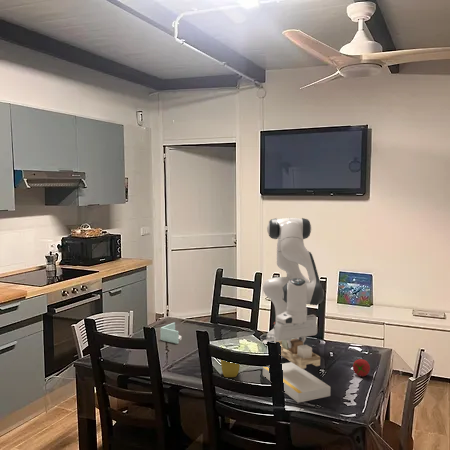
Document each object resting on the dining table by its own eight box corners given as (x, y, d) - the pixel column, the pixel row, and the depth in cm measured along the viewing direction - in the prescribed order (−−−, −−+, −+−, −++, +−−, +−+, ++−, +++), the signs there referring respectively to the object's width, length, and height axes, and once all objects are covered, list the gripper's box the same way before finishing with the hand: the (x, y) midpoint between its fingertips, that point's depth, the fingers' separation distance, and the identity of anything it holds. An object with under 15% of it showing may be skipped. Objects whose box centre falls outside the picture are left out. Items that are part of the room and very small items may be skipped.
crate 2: (297, 355, 212) (297, 345, 211) (306, 354, 213) (306, 344, 213) (303, 359, 208) (303, 349, 207) (311, 357, 209) (312, 347, 209)
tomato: (363, 354, 233) (358, 356, 226) (375, 367, 229) (371, 369, 223) (351, 365, 235) (346, 367, 228) (363, 378, 232) (359, 381, 225)
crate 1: (281, 346, 223) (281, 336, 223) (290, 345, 225) (290, 335, 225) (286, 349, 219) (286, 339, 219) (295, 348, 221) (295, 338, 221)
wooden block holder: (273, 350, 226) (273, 333, 225) (289, 347, 230) (290, 331, 229) (302, 368, 204) (302, 350, 204) (320, 365, 208) (320, 347, 207)
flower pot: (219, 371, 232) (219, 353, 231) (238, 371, 233) (238, 352, 232) (220, 379, 224) (221, 360, 223) (240, 379, 224) (240, 359, 223)
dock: (262, 375, 229) (262, 366, 228) (292, 370, 235) (292, 361, 235) (297, 402, 201) (298, 392, 201) (330, 395, 208) (330, 386, 208)
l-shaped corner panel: (177, 344, 270) (177, 331, 269) (160, 340, 276) (160, 327, 276) (190, 338, 280) (190, 326, 279) (173, 335, 287) (173, 322, 286)
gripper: (312, 311, 222) (311, 341, 224) (272, 316, 214) (272, 347, 215) (320, 315, 217) (319, 346, 218) (280, 320, 208) (279, 352, 210)
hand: (295, 347), depth 217 cm, fingers closed on wooden block holder, 4 cm apart
